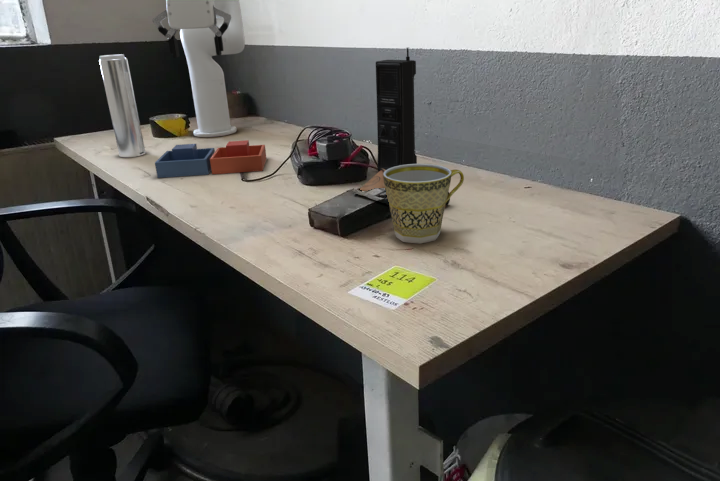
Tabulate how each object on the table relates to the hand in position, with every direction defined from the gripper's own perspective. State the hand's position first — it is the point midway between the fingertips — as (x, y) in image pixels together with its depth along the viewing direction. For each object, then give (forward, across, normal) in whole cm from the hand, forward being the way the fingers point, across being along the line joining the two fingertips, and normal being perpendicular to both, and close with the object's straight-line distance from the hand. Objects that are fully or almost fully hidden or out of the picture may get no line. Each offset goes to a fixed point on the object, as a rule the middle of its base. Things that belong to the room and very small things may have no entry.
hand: (197, 56), depth 130 cm
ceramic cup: (+24, -42, +58) cm, 76 cm away
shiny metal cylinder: (+24, +23, -12) cm, 36 cm away
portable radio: (+24, -42, +21) cm, 53 cm away
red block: (+24, -8, +8) cm, 26 cm away
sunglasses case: (+24, -40, +41) cm, 62 cm away
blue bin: (+24, +4, +8) cm, 26 cm away
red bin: (+24, -8, +8) cm, 27 cm away
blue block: (+24, +4, +8) cm, 26 cm away
